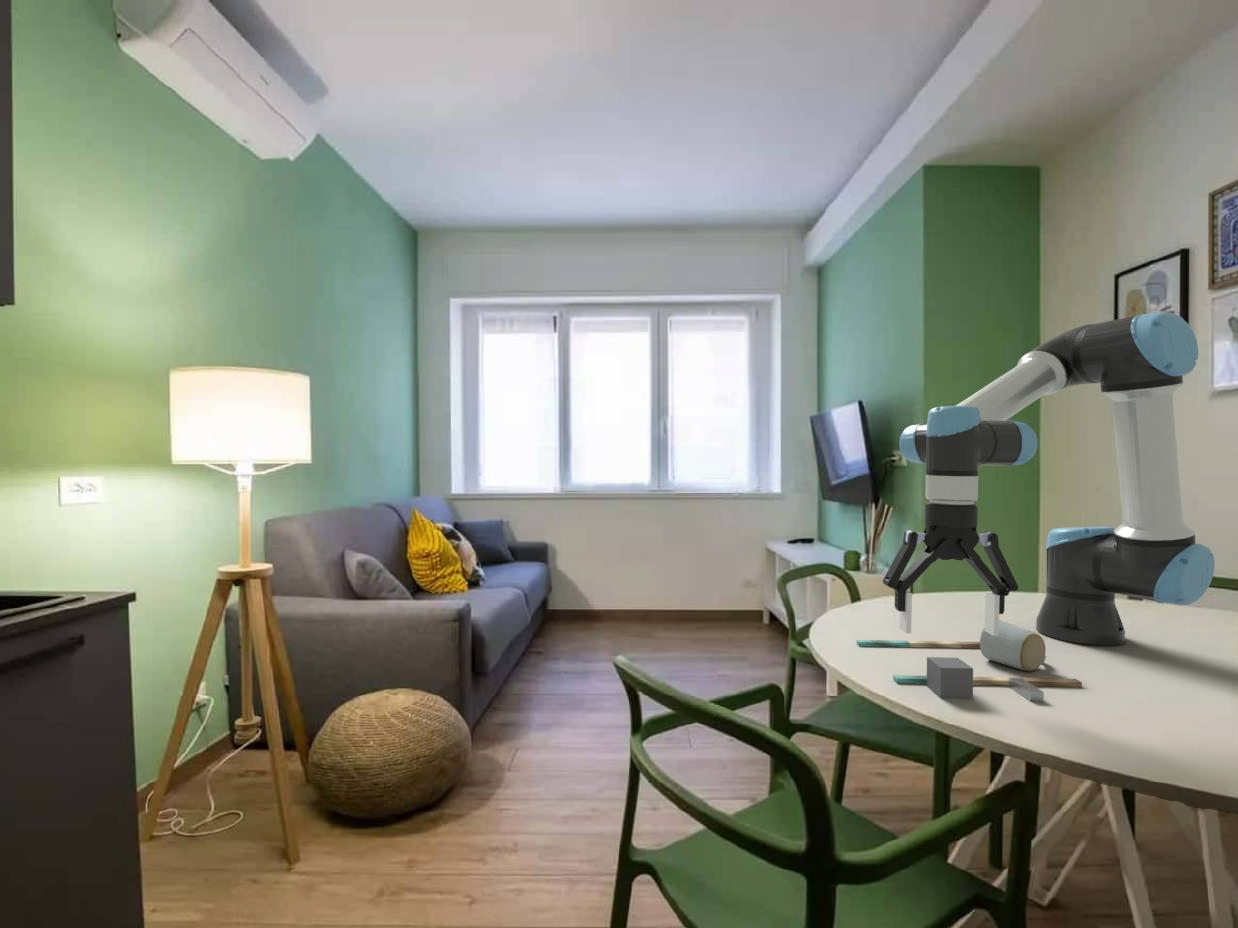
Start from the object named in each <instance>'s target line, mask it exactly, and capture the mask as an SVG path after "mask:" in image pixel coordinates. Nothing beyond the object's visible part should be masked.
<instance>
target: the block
mask: <svg viewBox="0 0 1238 928" xmlns="http://www.w3.org/2000/svg"><path fill="white" fill-rule="evenodd" d="M926 676H927V684H926V688H928V689H929V690H930V691H932V692H933V694H935V695H936V696H937V697H938V698H939V699H950V700H951V699H953V700H955V699H956V700H974V685H973V677H974V668H973V667H972V666H970V665H969V664H967V663H966V662H965V661H964V660H961V659H960V658H959V657H940V656H938V657H937V656H936V657H934V656H931V657H929V656H926Z"/></svg>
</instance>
